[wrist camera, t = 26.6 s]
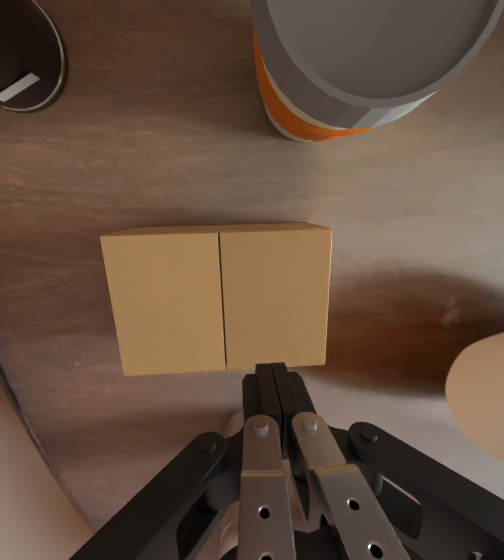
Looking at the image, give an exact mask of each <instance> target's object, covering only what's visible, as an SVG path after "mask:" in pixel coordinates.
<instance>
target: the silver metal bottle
mask: <svg viewBox="0 0 504 560" xmlns="http://www.w3.org/2000/svg"><path fill="white" fill-rule="evenodd" d="M243 425H244V415H243V409H241V410H239V411H237V412H236V413H235V414H233V415H232V416H231V417H230V419H229V420H228V422H227V424H226V427H225V431H224V438H228V437H230V436H233V435H235V434H236V433H238V432H239V431H240V430H241V428H242V427H243ZM239 501H240V500H239ZM239 501H237V502H235V503H233V504H231V505H229V508H228V511H227V512H226V514H225V515H224V522H223V528H222V534H221V541H220V550H219V559H220V558H221V557H222V556H223V555H224V554H225V553H226V552H228V551H229V550H230V549H231V548H233V547H235V546H236V545H238V524H239Z"/></svg>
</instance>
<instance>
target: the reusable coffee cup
mask: <svg viewBox="0 0 504 560" xmlns="http://www.w3.org/2000/svg"><path fill="white" fill-rule="evenodd" d="M251 2H252V21H253V27H252V28H253V47H254V58H255V67H256V77H257V82H258V86H259V91H260V94H261V97H262V99H263V101H264V106H265V110H266V112H267V115H268V117H269V119H270V121H271V122H272V124H273V125H274V126H275V128H276V129H277V130H278V131H279V132H280V133H282V134H283V135H285V136H286V137H288V138H290V139H293V140H295V141H301V142H311V141H315V142H323V141H332V140H335V139H339V138H343V137H346V136H350V135H353V134H357V133H361V132H364V131H367V130H369V129H371V128H373V127H375V126H379V125H383V124H386V123H390V122H391V121H393V120H395V119H397V118H399V117H401V116H403V115H405V114H407V113H409V112H410V111H411V110H413V109H414V108H415V107H417V106H418V105H419V104H421V103H422V102H423V101H425V100H426V99H427V98H429V97H430V96H431V95H433V94H434V93H435V92H437V91H438V90H439V89H441V88H442V87H443V86H444V85H446V84H447V83H448V82H450V81H451V80H452V79H453V78H455V77H456V76H457V75H459V74H460V73H461V71H462V70H463V69H464V68H465V67H466V66H467V65H468V64H469V63H470V62H471V61H472V59H473V58H474V57H475V56H476V55H477V54H478V53H479V51H480V50H481V48H482V47H483V45H484V44H485V42H486V41H487V39H488V38H489V36H490V35H491V33H492V31H493V30H494V28H495V26H496V24H497V22H498V20H499V17H500V15H501V13H502V11H503V9H504V0H251Z"/></svg>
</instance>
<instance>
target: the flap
mask: <svg viewBox="0 0 504 560" xmlns="http://www.w3.org/2000/svg"><path fill="white" fill-rule="evenodd" d="M219 234H220V251H221V269H222V287H223V305H224V323H225V341H226V359H227V370H241V369H255V364H260V363H277V362H285V365H286V367H294V366H311V365H325V352H326V334H327V315H328V297H329V279H330V261H331V243H332V229H307V230H274V231H241V232H220V233H219Z"/></svg>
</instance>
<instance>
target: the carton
mask: <svg viewBox="0 0 504 560" xmlns="http://www.w3.org/2000/svg"><path fill="white" fill-rule="evenodd" d="M307 229H330V228H329V227H324V226H320V225H316V224H312V223H308V222H305V223H270V224H235V225H200V226H165V227H135V228H131V229H126V230H122V231H117V232H113V233H108V234H104V235H103V236H100V241H101V247H102V253H103V258H104V264H105V270H106V276H107V281H108V287H109V293H110V298H111V304H112V310H113V316H114V321H115V327H116V333H117V339H118V344H119V350H120V356H121V362H122V367H123V373H124V376H133V375H151V374H169V373H187V372H205V371H222V370H226V366H227V359H226V341H225V323H224V305H223V287H222V269H221V251H220V234H219V233H220V232H241V231H274V230H307Z"/></svg>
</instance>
